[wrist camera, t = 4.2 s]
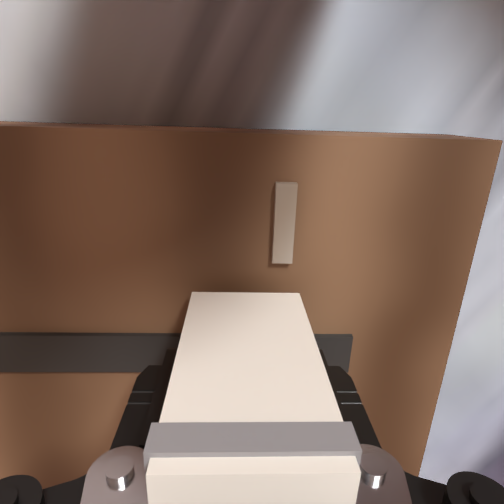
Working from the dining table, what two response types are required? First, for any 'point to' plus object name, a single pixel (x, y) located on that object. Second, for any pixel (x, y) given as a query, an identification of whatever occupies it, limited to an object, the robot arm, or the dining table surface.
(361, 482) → the robot arm
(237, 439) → the fader tab
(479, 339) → the dining table surface
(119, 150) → the brown flat wooden board
